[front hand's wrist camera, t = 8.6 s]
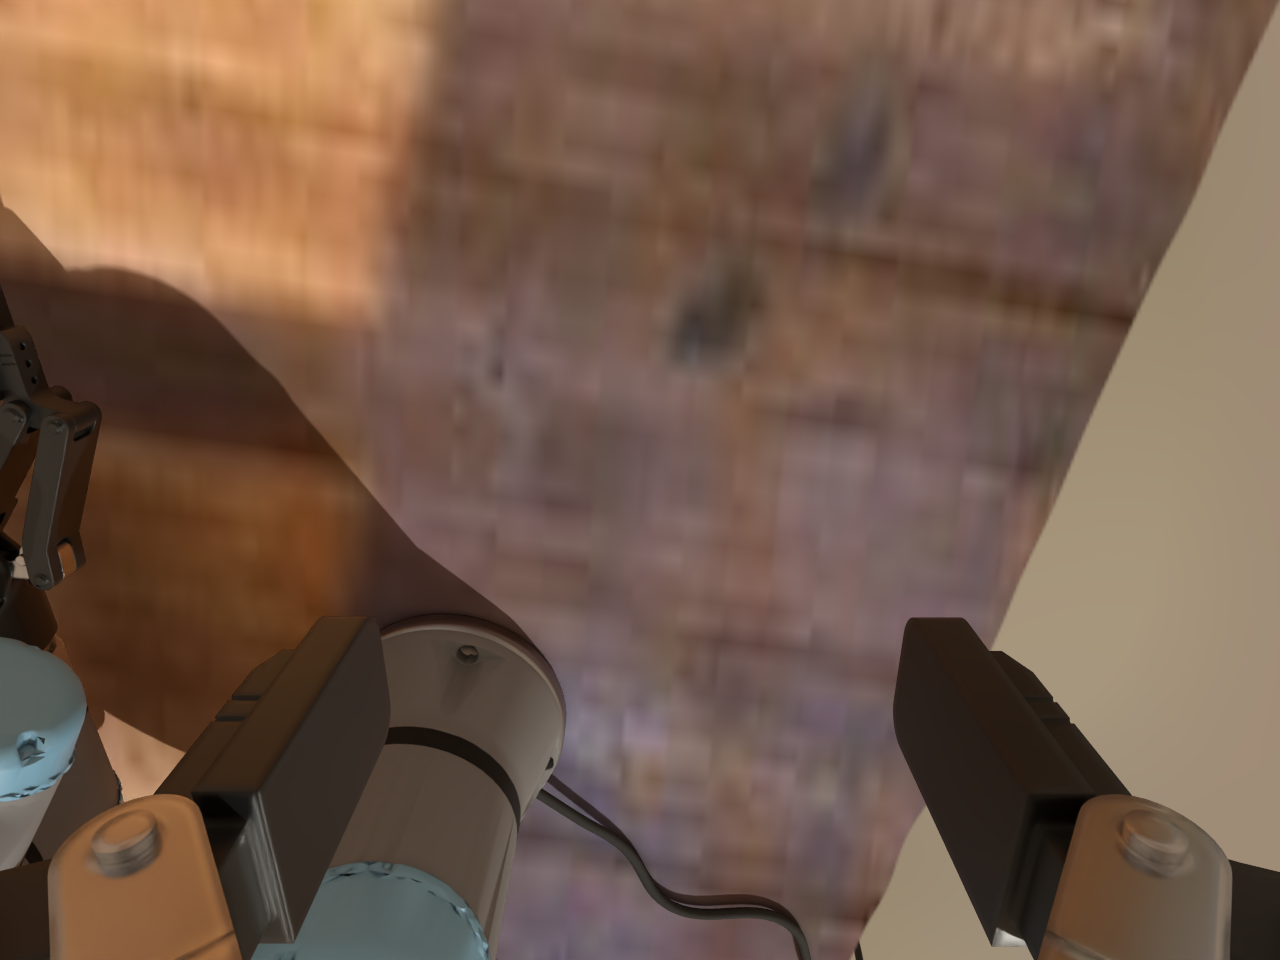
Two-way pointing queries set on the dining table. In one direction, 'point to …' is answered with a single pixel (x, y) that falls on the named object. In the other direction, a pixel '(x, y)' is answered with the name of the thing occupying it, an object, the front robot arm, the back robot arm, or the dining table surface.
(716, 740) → the dining table surface
